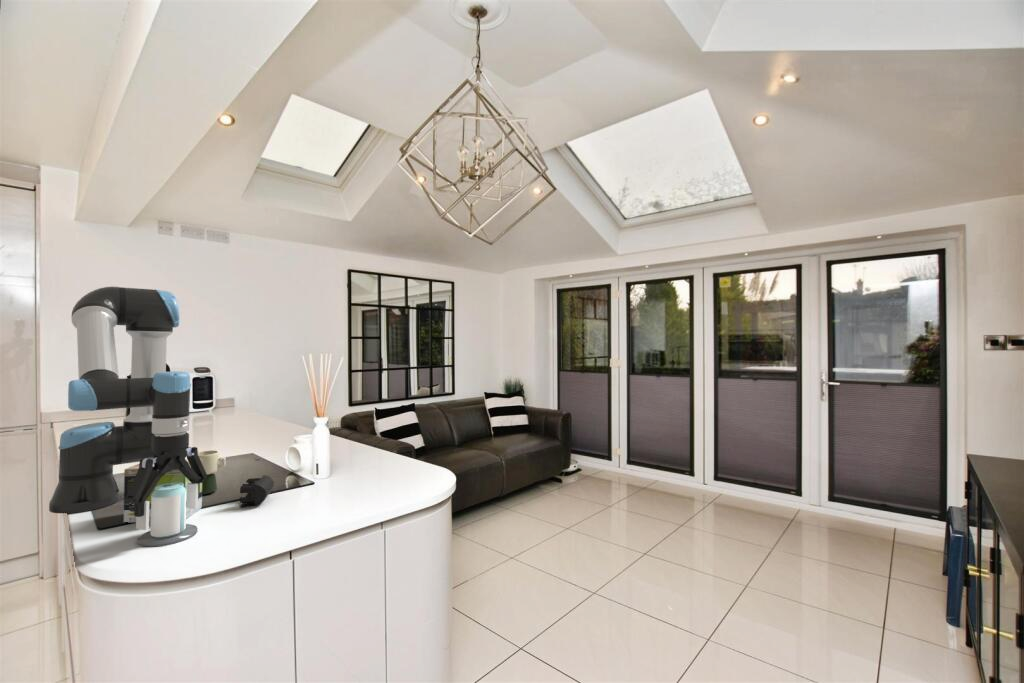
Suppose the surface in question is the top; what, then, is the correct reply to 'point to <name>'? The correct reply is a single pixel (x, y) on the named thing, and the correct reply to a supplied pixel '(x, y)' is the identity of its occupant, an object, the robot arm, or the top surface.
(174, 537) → the coaster
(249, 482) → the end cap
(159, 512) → the can
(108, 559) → the top surface
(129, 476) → the tea box
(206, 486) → the character mug
